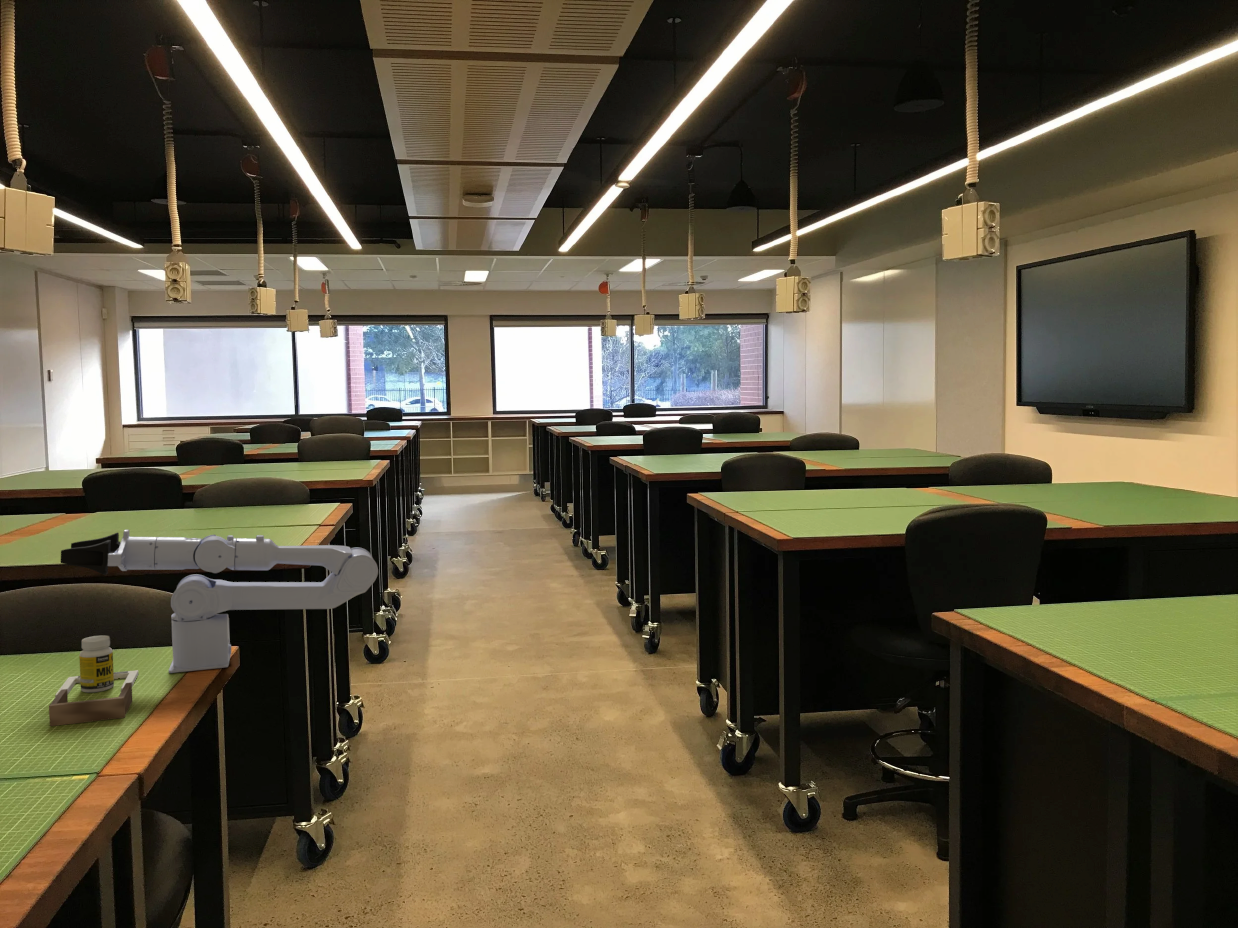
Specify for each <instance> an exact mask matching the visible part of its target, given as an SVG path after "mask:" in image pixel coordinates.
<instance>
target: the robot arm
mask: <svg viewBox="0 0 1238 928" xmlns="http://www.w3.org/2000/svg"><path fill="white" fill-rule="evenodd" d="M60 564H63V565H68V566H73V567H74V566H75V567H80V568H85V569H89V570H92V571H94V572H97V573H98V574H101V575H105V576H106V575H108V573H109V567H118V568H119V570H120V571H122V572H127V571H132V570H134V571H135V570H136V571H137V570H140V571H141V570H142V571H144V570H145V571H146V570H148V571H149V570H150V571H152V570H154V571H155V570H158V571H159V570H160V571H161V570H163V571H165V570H167V571H168V570H169V571H170V570H172V571H173V570H176V571H177V570H179V571H180V570H181V571H183V570H198V569H201V570H203V571H204V572H209V573H212V574H218V573H220V572H221V573H222V571H224V570H225V569H226V568H227V569H229V570H232V571H269V570H271V569H272V568H273V567H274V566H275V565H278V564H281V565H284V564H285V565H300V566H301V565H302V566H320V567H324V568H325V569H327V570H328V571H330V574H329V575H327V576H326V578H325V579H324V580H323V581H321V582H320V581H318V582H316V581H311V582H310V581H305V582H304V581H301V582H299V581H296V582H295V581H289V582H287V581H280V582H279V581H266V582H265V581H250V582H249V581H238V582H237V581H234V582H233V581H227V580H225V579H224V580H223V579H213V578H209V577H207V576H205V575H202V574H197V573H196V574H189V575H187V576H185V577H183V578H182V579H181V580H180V581H179V582H178V584H177V585H176V589H175V590H174V592H173V593H172V595H171V598H170V607H171V609H172V611H173V613H172V614H171V617H170V618H171V619H170V620H171V640H172V642H171V644H172V646H171V647H172V661H171V663H170V666H169V668H168V673H169V674H173V673H174V674H176V673H182V672H183V673H185V672H193V671H203V670H205V671H206V670H213V669H222V668H223V669H224V668H228V667H229V665H230V659H231V655H232V644H231V642H230V641H231V640H230V637H231V636H230V618H229V614H228V613H223V612H226V611H235V610H236V611H238V610H239V611H241V610H242V611H244V610H245V611H246V610H250V611H252V610H256V611H257V610H328V609H329V610H331V609H336V608H337V607H340V606H341V605H343V604H344V603H346V602H348V601H349V600H351V599H352V598H354V597H356V596H359V595H361V594H364V593H366V592H367V591H368V590H369V589H370V587H371V586H372V585H373V584H374V583H375V581H376V579H377V577H378V575H379V569H378V564H377V562H376V561H375V559H374V558H373V554H371V553H370V551H368V550H367V549H365V548H362V547H350V546H347V545H336V544H334V545H333V544H330V545H329V544H328V545H325V544H324V545H323V544H321V545H318V544H317V545H278V544H276V543H275V542H274V541H273V540H272V539H271V538H265V535H262V534H258V535H256V537H255V538H250V537H249V538H248V537H247V538H246V537H234V535H232V534H231V535H230V534H229V535H227V537H226V538H224V537H222V536H219V535H218V536H217V534H209V535H207V536H205V537H202V538H201V537H200V538H198V537H186V536H185V537H183V536H130V529H124V530H123V534H122V537H121V540H120V534H119V532H115V533H113V534H109V535H107V536H104V537H100V538H95V539H88V540H86V539H85V540H81V541H75V542H71V543H70V548H66V549H62V550H60Z"/></svg>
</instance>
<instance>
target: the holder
mask: <svg viewBox="0 0 1238 928" xmlns="http://www.w3.org/2000/svg"><path fill="white" fill-rule="evenodd" d="M68 697H69V696H68V694H67V689H63V690H61V691H60V692H59V693H58V695H57V696H56V697H54V699H53V700H52V701H51V703H50V704H49V705H48V715H49V717H48V718H49V726H50V727H54V726H55V727H56V726H62V725H63V726H65V725H73V724H74V725H75V724H81V723H90V722H91V723H92V722H99V721H107V720H115V719H116V720H117V719H123V718H125V717H126V715H127V713H128V712H129V710H130V707H131V705H132V703H133V686H132V682H131V683H126V684H125V686H124V687H123V689H122V691H121V690H120V694H119V695H118V696H117V697H107V698H99V699H98V698H97V699H87V700H86V699H85V700H79V701H69V700H68Z"/></svg>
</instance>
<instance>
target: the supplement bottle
mask: <svg viewBox="0 0 1238 928" xmlns="http://www.w3.org/2000/svg"><path fill="white" fill-rule="evenodd" d="M110 646H111V638H110V635H104V634H103V635H93V636H89V637H85V638H82V639H81V649H82V650H81V651H80V653H79V655H78V656H79V658H78V659H79V673H80V674H79V676H80V683H79V684H80V691H81V692H83V693H99V692H105V691H108V690H110V689H112V688H113V687H114V685H115V679H114V656H113V655H114V651H113V649H112V648H111V647H110Z"/></svg>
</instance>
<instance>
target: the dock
mask: <svg viewBox="0 0 1238 928" xmlns="http://www.w3.org/2000/svg"><path fill="white" fill-rule="evenodd" d="M113 672H114V671H113ZM137 676H139V670H138V669H136V670H124V671H116V672H114V680H119V679H118V678H120V679H125V680H124V681H123V684H122V685H121V687H120V692H121V691H122V689H123V687H124V686H125V684H126V683H131V682H132V687H134V684H135V683H134V682H136V681H135V680H137V679H136V678H138V677H137ZM75 684H81V683H80V675H78V676H77V675H76V676H68V678H67V679H66V680H65V681H64V683H63V684H62V685H61V687H59V689H58V691H57V692H56V693H55V695H54V696H55V697H56V696H57V695H58V693H59V692H60V691H61V690H63V689H67V695H68V694H69V693H70V692H71V690H72V689H73V687H74V686H75ZM55 697H54V698H55Z"/></svg>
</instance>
